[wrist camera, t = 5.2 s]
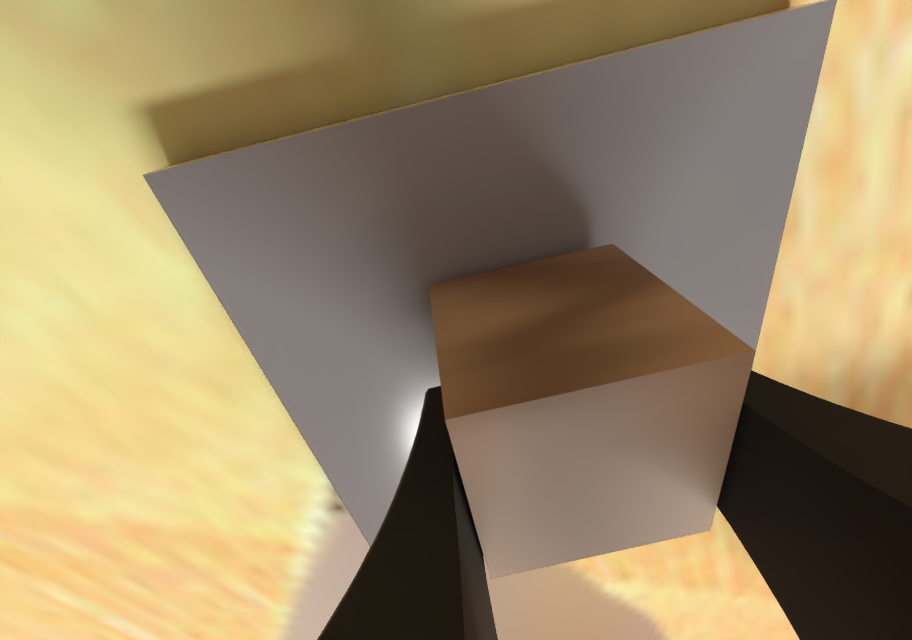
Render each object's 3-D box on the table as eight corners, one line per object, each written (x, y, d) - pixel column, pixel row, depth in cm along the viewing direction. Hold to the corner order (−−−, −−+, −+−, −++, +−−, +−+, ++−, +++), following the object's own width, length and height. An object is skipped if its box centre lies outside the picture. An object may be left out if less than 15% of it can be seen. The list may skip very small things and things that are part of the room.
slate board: (791, 6, 10) (837, -3, 9) (711, 439, 18) (730, 461, 17) (169, 165, 10) (142, 175, 9) (373, 523, 18) (371, 549, 17)
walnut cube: (612, 243, 11) (756, 350, 6) (610, 385, 13) (710, 530, 9) (428, 284, 11) (445, 419, 6) (462, 418, 13) (490, 579, 9)
